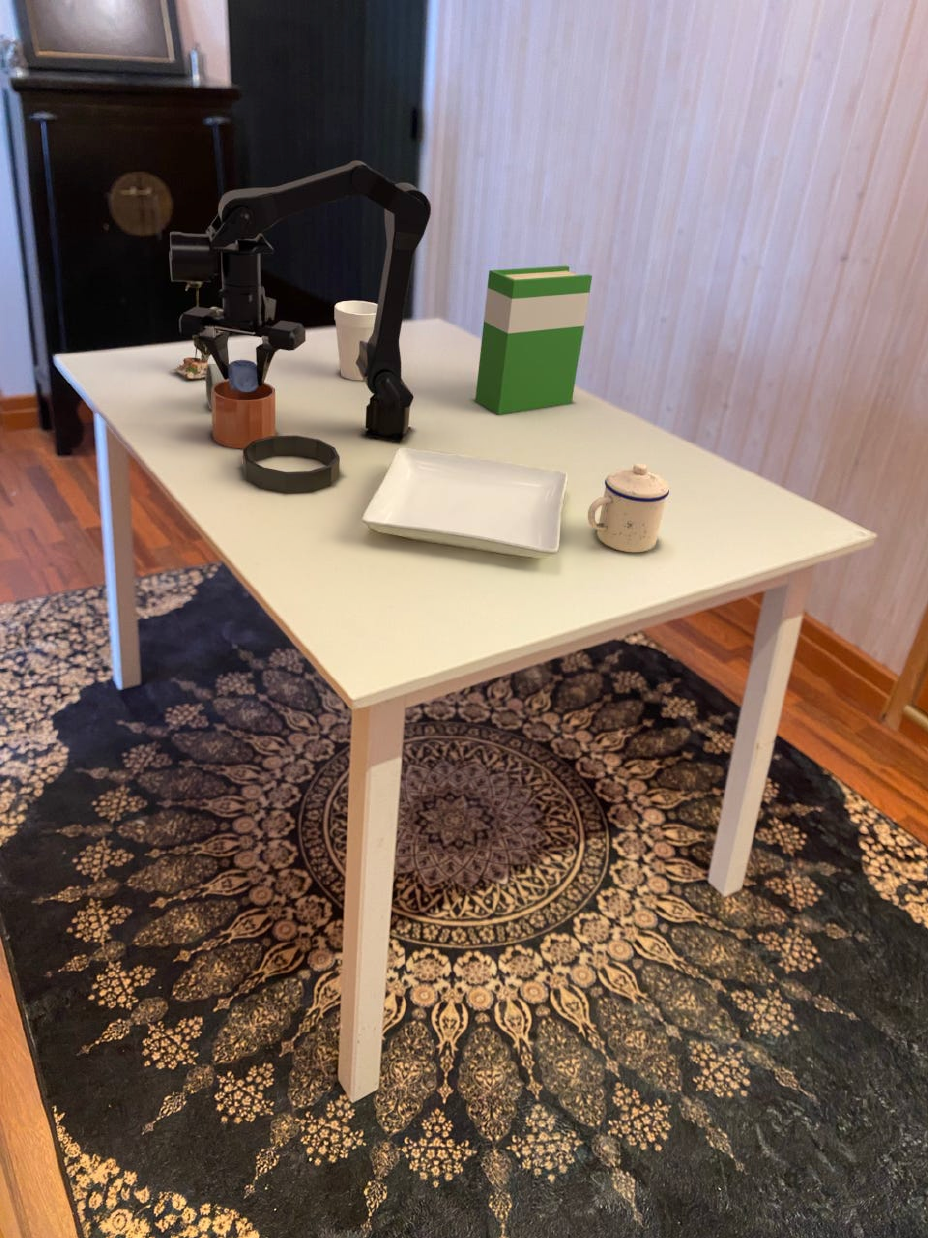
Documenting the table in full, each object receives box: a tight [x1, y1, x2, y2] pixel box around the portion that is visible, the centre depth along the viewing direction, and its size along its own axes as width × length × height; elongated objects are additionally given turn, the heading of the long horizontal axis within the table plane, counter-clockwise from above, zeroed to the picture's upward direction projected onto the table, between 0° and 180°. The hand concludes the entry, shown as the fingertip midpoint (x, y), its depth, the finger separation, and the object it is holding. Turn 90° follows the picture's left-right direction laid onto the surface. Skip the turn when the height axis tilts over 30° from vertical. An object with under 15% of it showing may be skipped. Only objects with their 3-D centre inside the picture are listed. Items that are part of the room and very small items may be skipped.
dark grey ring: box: [242, 434, 341, 494], centre depth 155 cm, size 14×14×3 cm
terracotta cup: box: [211, 380, 276, 450], centre depth 163 cm, size 10×10×8 cm
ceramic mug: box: [205, 363, 229, 411], centre depth 175 cm, size 11×8×8 cm
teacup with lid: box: [587, 463, 670, 553], centre depth 144 cm, size 12×9×12 cm
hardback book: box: [474, 265, 593, 415], centre depth 186 cm, size 18×7×24 cm, turn 124°
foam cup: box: [333, 300, 378, 382], centre depth 193 cm, size 10×9×13 cm
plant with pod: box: [172, 281, 223, 380], centre depth 184 cm, size 8×11×20 cm
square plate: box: [361, 447, 569, 559], centre depth 148 cm, size 27×27×4 cm
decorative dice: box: [228, 359, 259, 392], centre depth 160 cm, size 4×4×4 cm
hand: (243, 381), depth 161 cm, fingers closed on decorative dice, 5 cm apart
